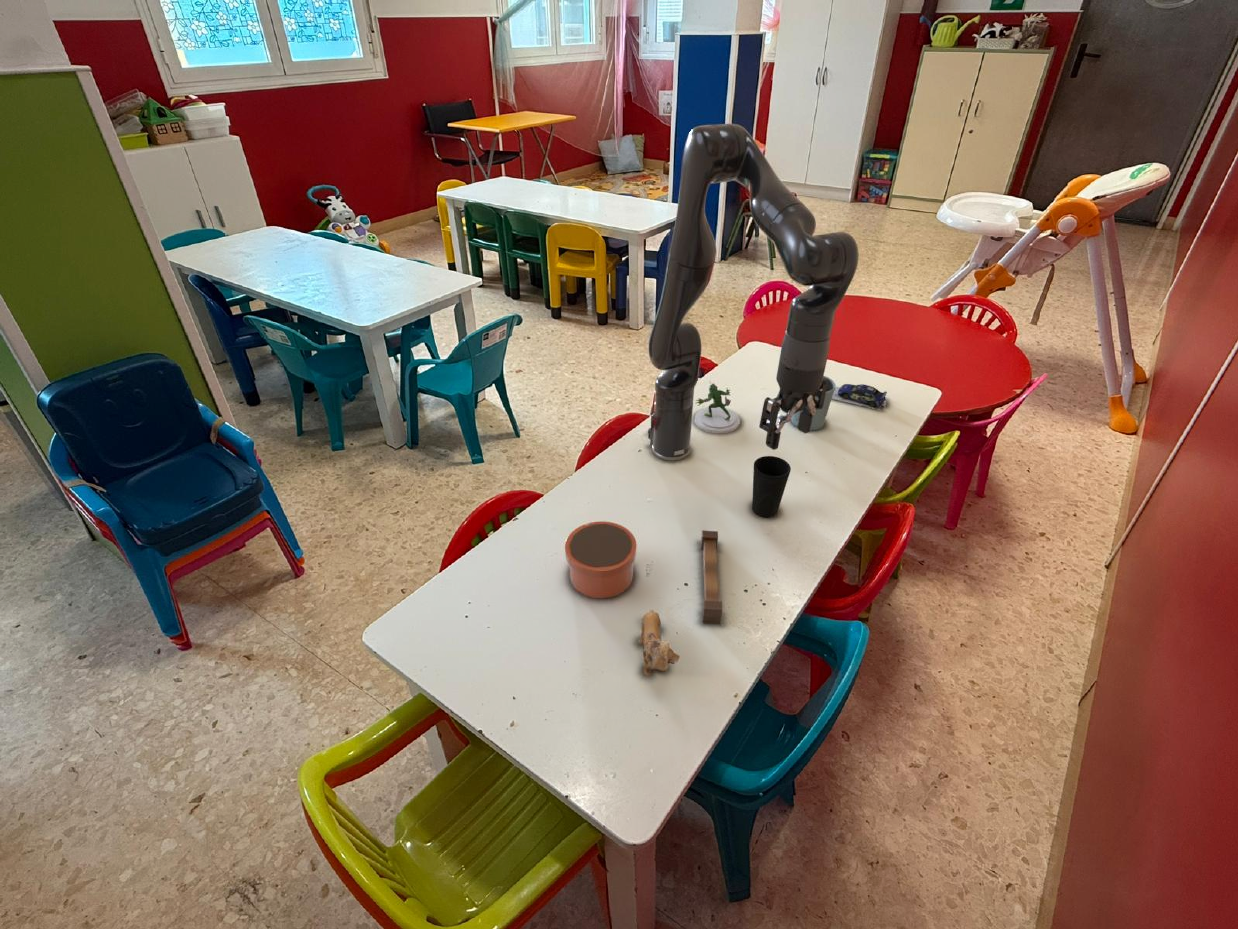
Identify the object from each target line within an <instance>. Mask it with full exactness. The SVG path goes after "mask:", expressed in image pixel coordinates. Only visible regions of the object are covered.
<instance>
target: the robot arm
mask: <svg viewBox="0 0 1238 929" xmlns="http://www.w3.org/2000/svg"><path fill="white" fill-rule="evenodd" d="M680 170H681V171H680V181H679V191H678V192H679V193H678V202H677V209H676V216H675V222H674V228H673V232H672V238H671V242H670V246H669V250H668V256H667V262H666V267H665V275H664V279H663V280H664V281H663V286H662V290H661V296H660V298H659V299H660V300H659V303H658V307H657V311H656V315H655V317H654V320H653V324H652V327H651V331H650V335H649V338H648V355H649V360H650V362H651V364H652V365H653V367H654V368H655V369H657V370H660V371H662V372H661V373H660V374H658V376H657V377H656V379H655V382H654V400H653V401H654V404H653V406H654V407H653V413H652V414H651V416H650V428H648V429H647V439H649V440H650V442H649V443H650V444H649V448H650V449H652V453H653V455H654V456H655V457H656V458H658V459H661V460H663V461H668V462H676V461H681V460H684V459H686V458H687V457H688V456H689V455H690V452H691V437H692V423H693V408H694V396H695V394H694V393H695V388H696V385H697V383H698V379H699V372H700V366H701V360H702V359H701V358H702V338H701V335H700V332H699V330H698V329H697V327H696V326H695V325H694V324H692V323H690V322H683V321H684V319H685V317H686V316H687V314H688V313H689V312H690V310H691V309H692V308H693V306H694V305H695V304H696V303H697V301H698V300H699V299H700V298H701V296H702V295H703V293H704V292H705V290H706V289H707V287H708V286H709V283H710V281H711V278H712V274H713V271H714V267H715V263H716V258H717V244H716V240H715V237H714V234H713V232H712V230H711V227H710V224H709V222H708V219H707V215H706V199H707V194H708V190H709V187H710V186H711V184H720V183H727V182H728V183H729V182H732V181H734V182H737V183H738V184H740V185H742V186H743V187H744V188H745V189H746V190H748V192H749V209H750V214H751V216H752V219H753V221H754V223H755V225H756V226H757V227H758V228H759V230H760V231H761V232H762V233H763V234H764V235H765V236H766V238H768V239H769V240H770V241H771V242H772V244H773V245H774V246H775V248H776V251H777V254H778V256H779V258H780V260H781V263H782V265H783V268H784V269H785V272H786V274H787V276H788V277H789V278H790V280H792V282H795V283H796V284H798V285H801V286H803V287H809V288H808V289H807V290H806V291H803V292H802V293H800V294H798V295H797V296H795V297H794V298H793V299H792V301H791V303H790V306H789V310H788V316H787V321H786V327H785V328H786V329H785V333H784V336H783V339H782V343H781V349H780V352H779V353H780V354H779V360H778V366H777V372H776V377H775V379H776V382H777V385H778V387H779V391H778V393H777V395H776V397H774V398H771V397H769V396H768V397H765V398H764V401H763V404H762V411H761V416H760V421H759V425H758V427H759V429H761V430H763V431H765V432H766V438H765V445H766V446H767V447H768V448H769V449H771V450H773V451H775V450H777V449H778V448H779V445H780V439H781V433H782V432H781V431H782V430H783V429H784V426H785V425H786V424H787V423H789V422H790V421H792V416H793V415H794V414H795V413H797V412H799V411H802V410H803V411H802V412H800V417H799V422H798V427H797V429H798V431H800V432H802V433H803V434H807V433H809V432H811V430H810V427H811V423H812V418H813V416H814V415H815V414H816V410H817V409H822V407H823V405H824V400H825V394H826V389H827V384H828V381H827V380H825V379H823V376H825V371H826V368H827V367H826V366H827V361H828V357H829V353H830V346H831V337H832V336H831V335H832V330H833V326H834V322H835V317H836V312H837V311H838V308H839V307H840V305H841V303H842V302H843V299H844V297H845V295H846V293H847V291H848V289H849V287H850V285H851V283H852V281H853V278H854V277H855V274H856V272H857V270H858V265H859V257H860V256H859V247H858V244H857V241H856V240H855V238H854V237H853V236H852V235H851V234H850V233H848V232H846V231H834V232H827V233H822V234H816V235H814V233H815V231H816V227H817V221H816V217H815V215H814V214H813V213H812V211H811V210H810V209H809V208H808V207H807V206H806V205H805V204H804V203H803V202H802V201H801V200H800V199H799V198H798V197H797V196H796V195H795V194H794V193H793V192H791V191H790V189H789V188H788V187H787V186H786V185H785V184H784V183H783V181H782V180H781V179H780V178H779V177H778V175H777V173H776V172H775V171H774V169H773V167H772V166H771V164H770V163H769V161H768V159H767V158H766V157H765V155H764V154H763V152H762V150H761V149H760V147H759V146H758V144H757V143H756V140H755V139H754V138H753V136H752V135H751V133H749V132H748V131H747V129H746V128H745V127H744V126H741V125H740V124H736V123H721V124H720V123H719V124H704V125H698V126H695V127H693V129H691V131H690V132H689V133H688V135H687V138H686V140H685V144H684V149H683V153H682V160H681V169H680ZM816 396H817V397H818V401H817V400H815V397H816ZM780 411H782V412H783V413H785V415H783V414H781V413H780ZM778 419H779V422H777V421H778Z"/></svg>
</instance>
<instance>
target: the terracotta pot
mask: <svg viewBox="0 0 1238 929" xmlns="http://www.w3.org/2000/svg"><path fill="white" fill-rule="evenodd" d="M637 545H638V544H637V540H636V538H635V536H634V534H633V533H632V532H631V531H630V529H628V528H626V527H625V526H623V525H621V524H618V523H616V522H612V521H605V520H603V521H602V520H601V521H592V522H587V523H585V524H582V525H580V526H578V527H577V528H575V529H574V530H572V531H571V533H569V534H568V536H567V538H566V540H565V543H564V552H565V559H566V562H567V564H568V566H569V578H570V582H571V584H572V586H573V588H574V589H575V590H576V591H577V592H579V593H581V594H582V595H584V596H586V597H588V598H594V599H608V598H612V597H616V596H618V595H620V594H622V593H623V592H624V591H626V590H627V589H628V588H629V587H630V585H631V583H632V582H633V578H634V562H635V561H636V557H637V547H638V546H637Z"/></svg>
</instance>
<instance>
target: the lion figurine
mask: <svg viewBox="0 0 1238 929" xmlns="http://www.w3.org/2000/svg"><path fill="white" fill-rule="evenodd" d="M643 615H644V616H643V617H642V618H641V620H642V621H641V626H640V627H641V628H640V629H641V633H640V637H639V639H638V641H637V644H638V645H639V646H644V647H643V650H642V656H643V663H644V669H643V674H644V675H646V676H649V675H651V673H652V672H651V671H652V670H658V671H662V672H664V671H666V670H668V668H669V665H670V664H671V665H676V663H678V661H679V660H680V659H681V656H680V655H679V654H678V653H675V652H674V649H673V648H671V646H670V642H669V641H668V640H666V641H663V640H662V635H661V632H660V627H661V625H662V624H661V622H662V620H661V618H660V615H659V613H658V612H656V611H654V610H653V609H651V610H649V611H648V612H645V614H643Z"/></svg>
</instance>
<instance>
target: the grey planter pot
mask: <svg viewBox="0 0 1238 929" xmlns="http://www.w3.org/2000/svg"><path fill="white" fill-rule="evenodd" d="M823 379H825V380H827V381H828V384H827V389H826V394H825V400H824V405H823V407H822V409H817V410H816V414H815V415H814V416H813V418H812V423H811V427H810V431H818V430H820V429H822V428H823V427H824V425H825V422H826V417H827V415H828V413H829V410H830V406H831V401H832V396H833V393H834V390H835V389H836V388H837V386H836V382H835V381H834V380H833V379H831V378H829V377H828V376H826V375H824V376H823ZM815 400H817V401H818V397H817V396H816V397H815ZM802 411H803V410H802ZM802 411H799V412H797V413H795V414H794V415H793V416H792V418H791V423H792V424H793V426H795V427H797V428H798V422H799V417H800V412H802Z"/></svg>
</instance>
